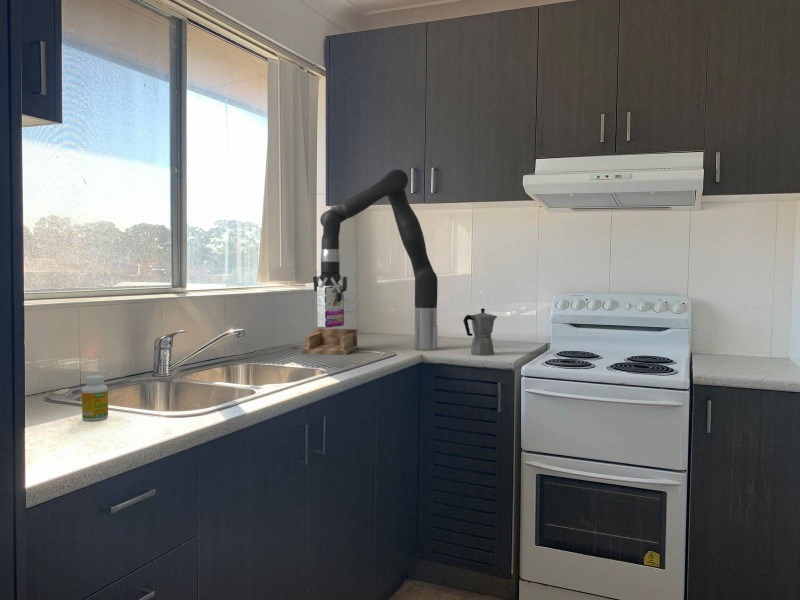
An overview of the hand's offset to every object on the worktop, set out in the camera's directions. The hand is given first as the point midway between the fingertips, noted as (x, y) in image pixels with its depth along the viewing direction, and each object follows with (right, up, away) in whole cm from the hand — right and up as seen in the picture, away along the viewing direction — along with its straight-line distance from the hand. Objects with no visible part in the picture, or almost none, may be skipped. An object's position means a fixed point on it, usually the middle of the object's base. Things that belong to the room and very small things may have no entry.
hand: (330, 302), depth 269 cm
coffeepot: (+59, -21, -6) cm, 63 cm away
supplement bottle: (-42, -26, -116) cm, 126 cm away
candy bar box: (0, -10, +1) cm, 10 cm away
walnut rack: (0, -20, +1) cm, 20 cm away
